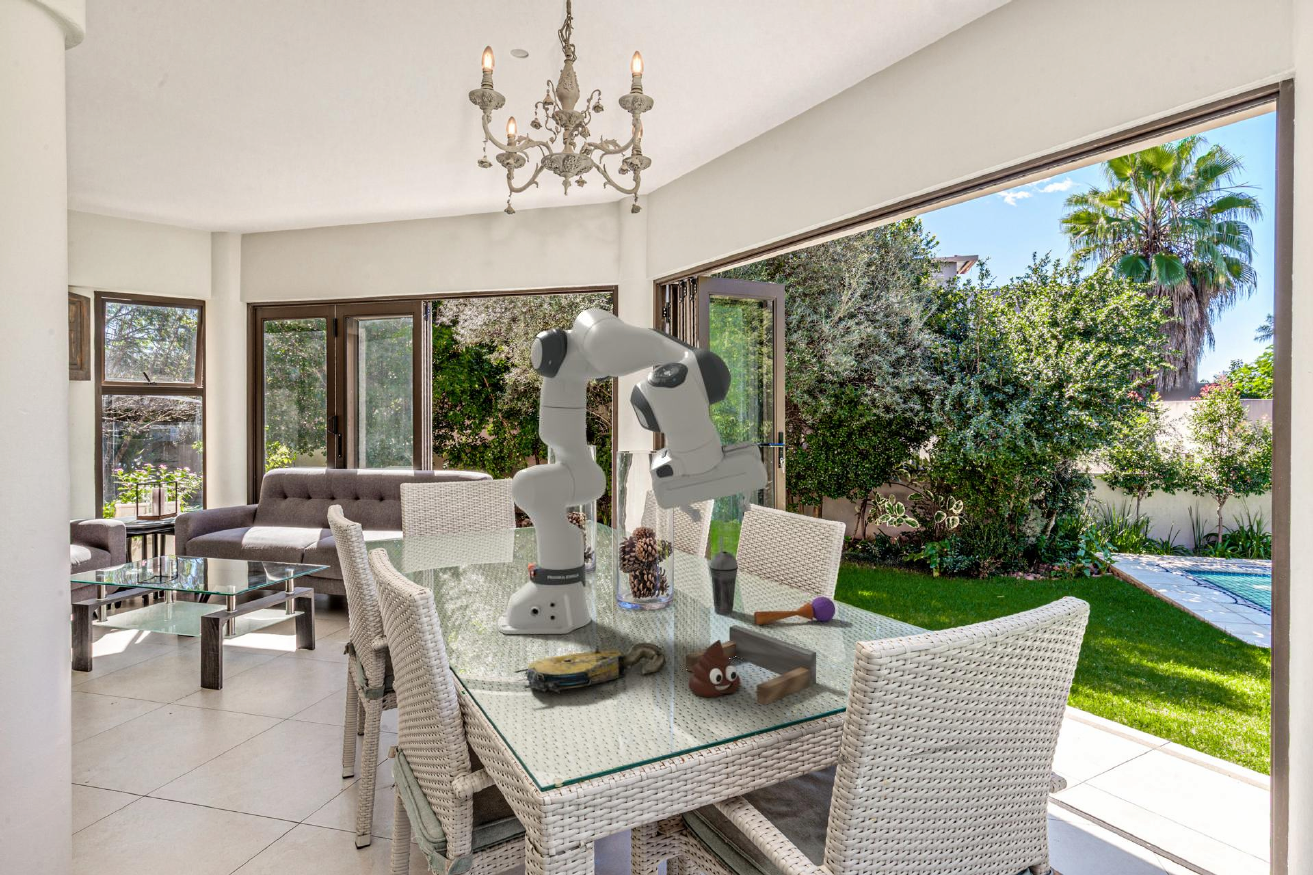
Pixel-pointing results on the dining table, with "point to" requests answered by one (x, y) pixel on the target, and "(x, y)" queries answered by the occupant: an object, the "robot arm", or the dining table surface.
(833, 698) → the dining table surface
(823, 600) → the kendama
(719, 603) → the beverage cup
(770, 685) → the channel
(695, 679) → the poop emoji
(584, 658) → the pulley block
